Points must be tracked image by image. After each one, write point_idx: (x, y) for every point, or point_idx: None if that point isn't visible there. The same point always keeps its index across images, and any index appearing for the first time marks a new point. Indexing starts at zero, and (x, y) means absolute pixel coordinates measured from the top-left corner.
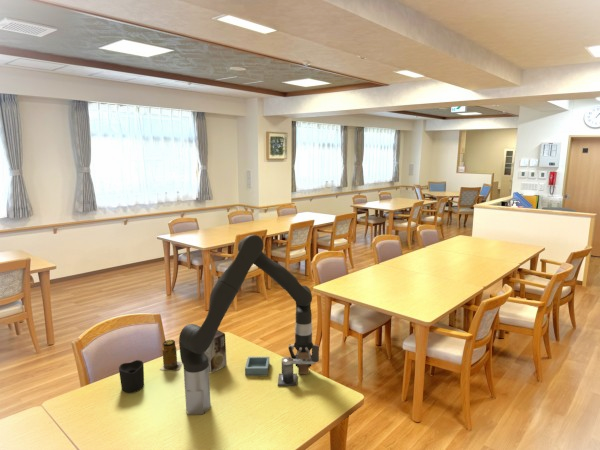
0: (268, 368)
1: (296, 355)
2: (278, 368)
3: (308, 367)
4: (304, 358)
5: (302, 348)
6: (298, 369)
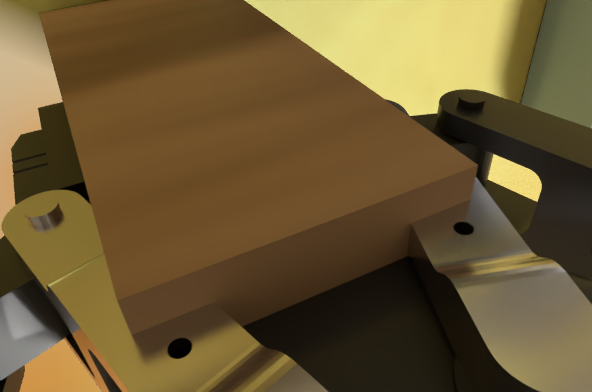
0: (552, 31)
1: None
2: (449, 77)
3: (52, 57)
4: (211, 135)
5: (437, 386)
6: (246, 2)
